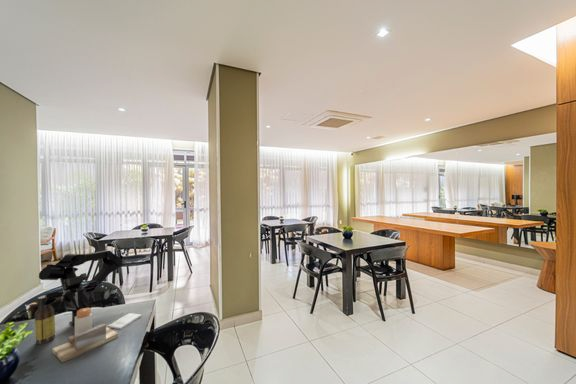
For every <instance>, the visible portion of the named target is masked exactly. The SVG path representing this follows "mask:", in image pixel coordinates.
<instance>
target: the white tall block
mask: <svg viewBox="0 0 576 384" xmlns="http://www.w3.org/2000/svg"><path fill="white" fill-rule="evenodd" d="M91 328H93V313H91V308H83V309H80V310H78V311H77V316H76V317H75V326H74V336H75V335H76V334H78V333H81V332H83V331H86V330H88V329H91Z"/></svg>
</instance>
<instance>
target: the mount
mask: <svg viewBox="0 0 576 384" xmlns="http://www.w3.org/2000/svg"><path fill="white" fill-rule="evenodd" d="M107 326H108V325H106V323H100V324H98V325H96V326H94V327H93V326H92V328H91V329H88V330H86V331H83V332H81V333H78V334H76V335H75V334H74V335H71V336H69V337H68V341H67V342H65V343H63V344H60V345H57V346H54V347H53V348H52V353H53V354H54V356H55V357H57V358H58V359H59V360H60V361H61V362H62V363H65V362H67V361H70V360H72V359H74V358H76V357H78V356H80V355H82V354H84V353H87V352H89V351H91V350H93V349H95V348H97V347H99V346H102V345H103V344H106V343H107V342H111V341H113V340H115V339H117V338H119V333H118V332H117V331H114V330H113V328H108V327H107Z"/></svg>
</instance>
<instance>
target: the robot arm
mask: <svg viewBox="0 0 576 384" xmlns="http://www.w3.org/2000/svg"><path fill="white" fill-rule="evenodd" d="M96 260H101V262H102V263H103V264H102V268H101V269H100V270H99V271H98V272H97V273H96V274H95V275H94V277H92V279H91V280H90V281H88V282H87V283H86V285H84V286H82V285H83V284H82V283H84V281H86V280H87V279H88V275H87V273H86V272H85V273H80V274H79V275H77V273H76V272H77V271H78V270H79V268H77V267H78V266H81V265H83V264H85V263H87V262H90V261H91V262H92V261H96ZM122 265H123V260H122V258H120V256H118V255H116V254H115V253H113V251H111V250H104V249H103V250H101V251H96V252H95V251H94V252H91V253H90V252H88V253H79V254H78V253H68V254H65V255H64V256H63V257H62V258H61V259H60V260H59V261H58V262H56V263H55V264H52V263H51V264H50V263H48V264H46V266H45V267H43V268H42V269H41V271H39V274H38V279H40V280H41V281H58V280H60V284H61V285H60V287H61V289H62V290H63V291H61V292H60V291H59V290H54V291H50V292H47V293H46V294H45V298H44V305H47V304H50V305H52V304H53V303H55V302H56V300H57V299H58V298H61V301H60V302H64V308H65V310H66V311H67V312H69V313H70V312H71V321H69V322H68V323H69V324H70V325H71V326H73V327H75V317H76V316H77V311H78V310H80V309H83V308H90V309H92V306H93V303H91V302H89V301H90V297H91V294H93V293H94V292H95V291H97V289H98V287H99V286H100V285H101V284H102V283H103V281H104V280H106V278H107V277H108V276H109V275H110V274H111V273H114V272H115V271H117V270H118V269H119V268H120V267H122Z"/></svg>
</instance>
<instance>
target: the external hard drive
mask: <svg viewBox="0 0 576 384" xmlns="http://www.w3.org/2000/svg"><path fill="white" fill-rule="evenodd" d="M141 317H142V314H140V313H139V314H138V313H133V312H132V313H131V312H129V313H127V314H125V315H123V316H122V317H120V318H119V319H117V320H115V321H113V322H111V323H110V324H108V325H106V326H107V327H108V328H110V329H115V330H122V329H124V328H125V327H127V326H129V325H130V324H132V323H134V322H135V321H136V320H138V319H140V318H141Z"/></svg>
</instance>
